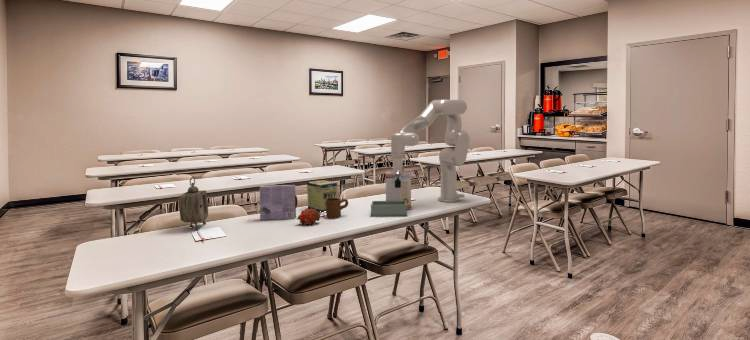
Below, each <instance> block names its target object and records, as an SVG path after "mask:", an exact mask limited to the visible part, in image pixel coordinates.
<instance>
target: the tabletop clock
mask: <svg viewBox="0 0 750 340" xmlns="http://www.w3.org/2000/svg"><path fill="white" fill-rule="evenodd" d="M192 180H194V181H193V182H192ZM191 182H192V183H191ZM195 184H196V178H195V177H194V176H191V177H190V178H189V185H190V186H189V187H188V188H187V191H186V192H184V193H183V194H181V195H180V196H179V198H178V206H179V217H180V221H181V222H184V223H190V224H189V228H190V227H192V228H193V227H194V225H195V230H196V229H199V230H200V227H199V226H198V223H202V225H206V224H207V222H206V219H207V218H208V216H209V202H208V194H207V193H208V192H207V190H200V189H199V187H197V186H195ZM193 224H194V225H193Z"/></svg>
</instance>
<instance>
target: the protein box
mask: <svg viewBox="0 0 750 340" xmlns="http://www.w3.org/2000/svg"><path fill="white" fill-rule="evenodd" d="M306 188H307V189H306V191H307V192H306V193H307V209H308V210H309V209H310V210H311V208H312V209H313V210H314V209H315V210H318V211H321V212H324V211H326V199H329V198H338V183H337V182H333V181H328V180H323V179H320V180H315V181H307V182H306ZM321 212H320V213H321Z"/></svg>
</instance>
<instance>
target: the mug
mask: <svg viewBox="0 0 750 340" xmlns="http://www.w3.org/2000/svg"><path fill="white" fill-rule="evenodd" d="M342 203H345V204H343V205H342ZM348 206H349V200H348V199H346V198H342V199H340V198H338V197H337V198H329V199H326V212H325V214H326V215H325V216H326V218H327V219H338V218H341V215H342V213H341V211H342V210H343V209H346V208H347V207H348Z"/></svg>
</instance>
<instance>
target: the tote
mask: <svg viewBox="0 0 750 340" xmlns="http://www.w3.org/2000/svg"><path fill="white" fill-rule="evenodd" d="M407 211H408V209H407V202H406V201H386V200H372V201H371V204H370V216H371V217H407V216H408V213H407Z"/></svg>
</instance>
